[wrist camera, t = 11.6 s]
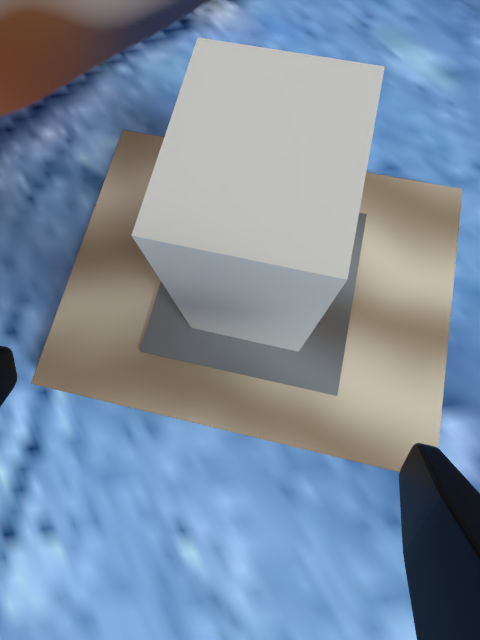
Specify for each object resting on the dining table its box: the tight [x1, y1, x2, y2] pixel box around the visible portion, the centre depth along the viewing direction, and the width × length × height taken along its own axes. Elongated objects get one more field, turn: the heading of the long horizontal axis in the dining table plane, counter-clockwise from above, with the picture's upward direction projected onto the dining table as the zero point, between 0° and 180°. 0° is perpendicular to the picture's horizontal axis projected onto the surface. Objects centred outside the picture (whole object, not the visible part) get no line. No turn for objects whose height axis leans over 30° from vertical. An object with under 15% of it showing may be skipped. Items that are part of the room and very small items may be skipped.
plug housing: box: [131, 38, 385, 352], centre depth 14 cm, size 6×5×9 cm
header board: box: [31, 130, 462, 472], centre depth 17 cm, size 14×18×5 cm
